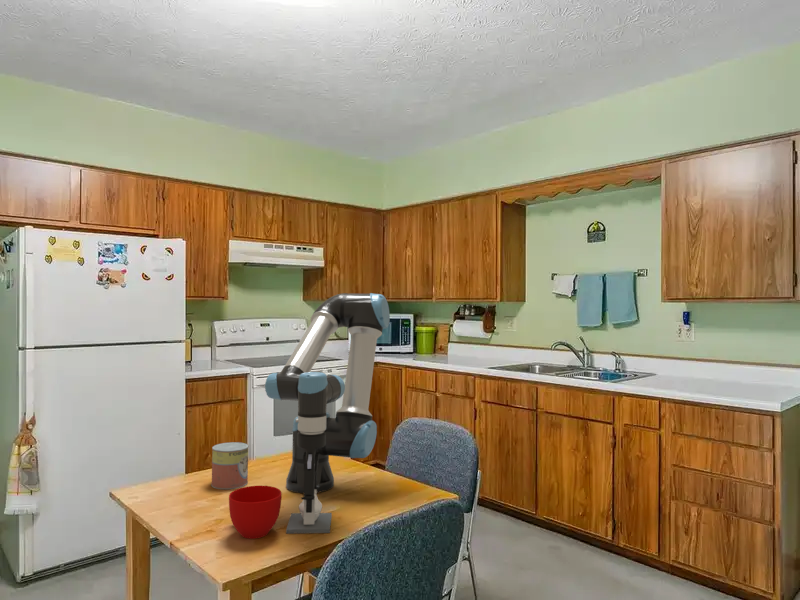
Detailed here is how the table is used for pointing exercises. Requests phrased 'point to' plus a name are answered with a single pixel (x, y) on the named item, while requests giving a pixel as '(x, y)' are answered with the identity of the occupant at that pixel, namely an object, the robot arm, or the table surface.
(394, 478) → the table surface
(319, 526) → the coaster
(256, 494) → the ceramic cup
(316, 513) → the white fluted round figurine
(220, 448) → the canned food
